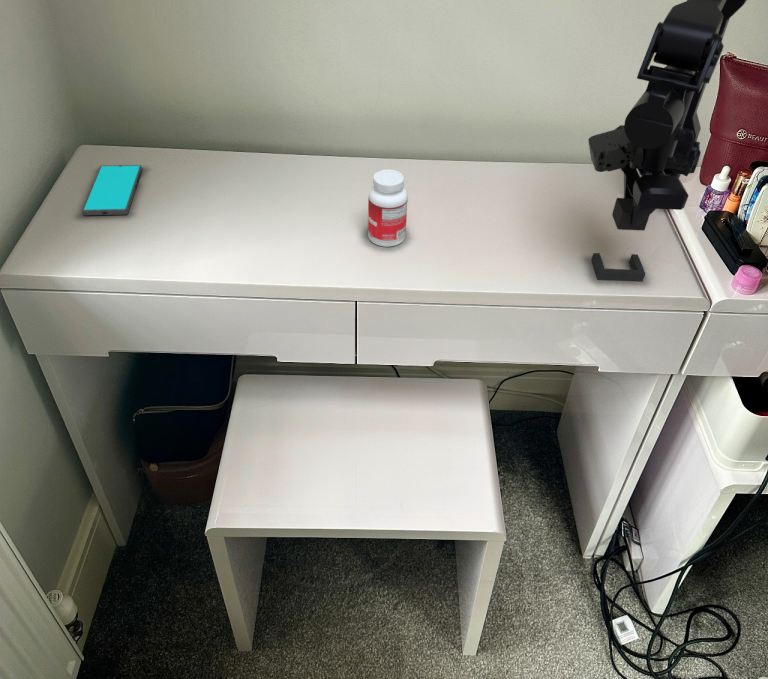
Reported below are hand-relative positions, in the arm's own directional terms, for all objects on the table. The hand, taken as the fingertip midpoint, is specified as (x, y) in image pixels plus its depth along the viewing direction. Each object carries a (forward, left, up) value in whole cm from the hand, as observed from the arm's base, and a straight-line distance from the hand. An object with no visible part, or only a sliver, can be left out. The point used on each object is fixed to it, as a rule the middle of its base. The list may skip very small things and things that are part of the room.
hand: (630, 216), depth 104 cm
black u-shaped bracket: (+1, +1, -9) cm, 9 cm away
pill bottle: (+18, -32, -9) cm, 38 cm away
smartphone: (+38, -76, -9) cm, 86 cm away
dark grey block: (0, 0, -1) cm, 1 cm away
